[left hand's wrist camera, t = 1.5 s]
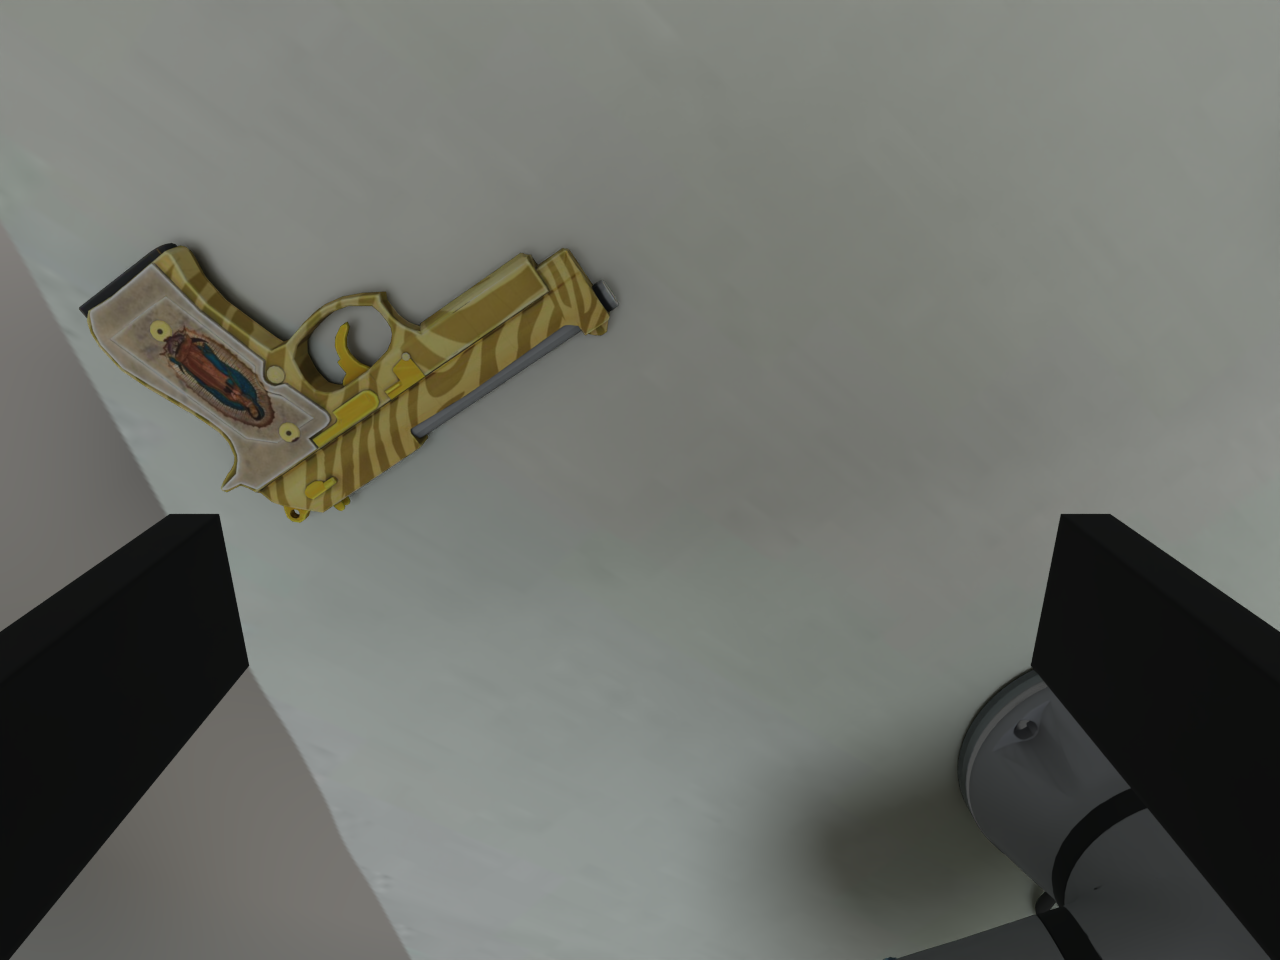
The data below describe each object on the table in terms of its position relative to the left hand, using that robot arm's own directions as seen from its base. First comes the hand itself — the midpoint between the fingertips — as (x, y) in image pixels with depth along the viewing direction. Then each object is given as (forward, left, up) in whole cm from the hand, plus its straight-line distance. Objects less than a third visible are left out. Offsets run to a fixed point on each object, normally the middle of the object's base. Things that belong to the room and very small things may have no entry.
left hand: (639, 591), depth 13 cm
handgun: (+2, +14, -30) cm, 33 cm away
